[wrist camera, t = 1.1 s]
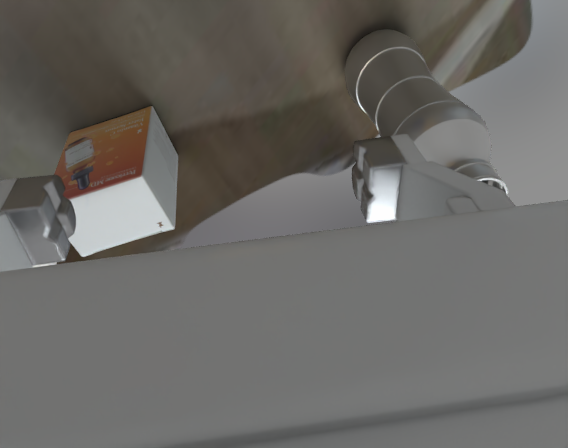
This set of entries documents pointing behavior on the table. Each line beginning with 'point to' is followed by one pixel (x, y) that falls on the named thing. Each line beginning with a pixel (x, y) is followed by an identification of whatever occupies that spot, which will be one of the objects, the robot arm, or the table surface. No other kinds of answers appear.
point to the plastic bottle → (418, 105)
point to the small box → (119, 181)
